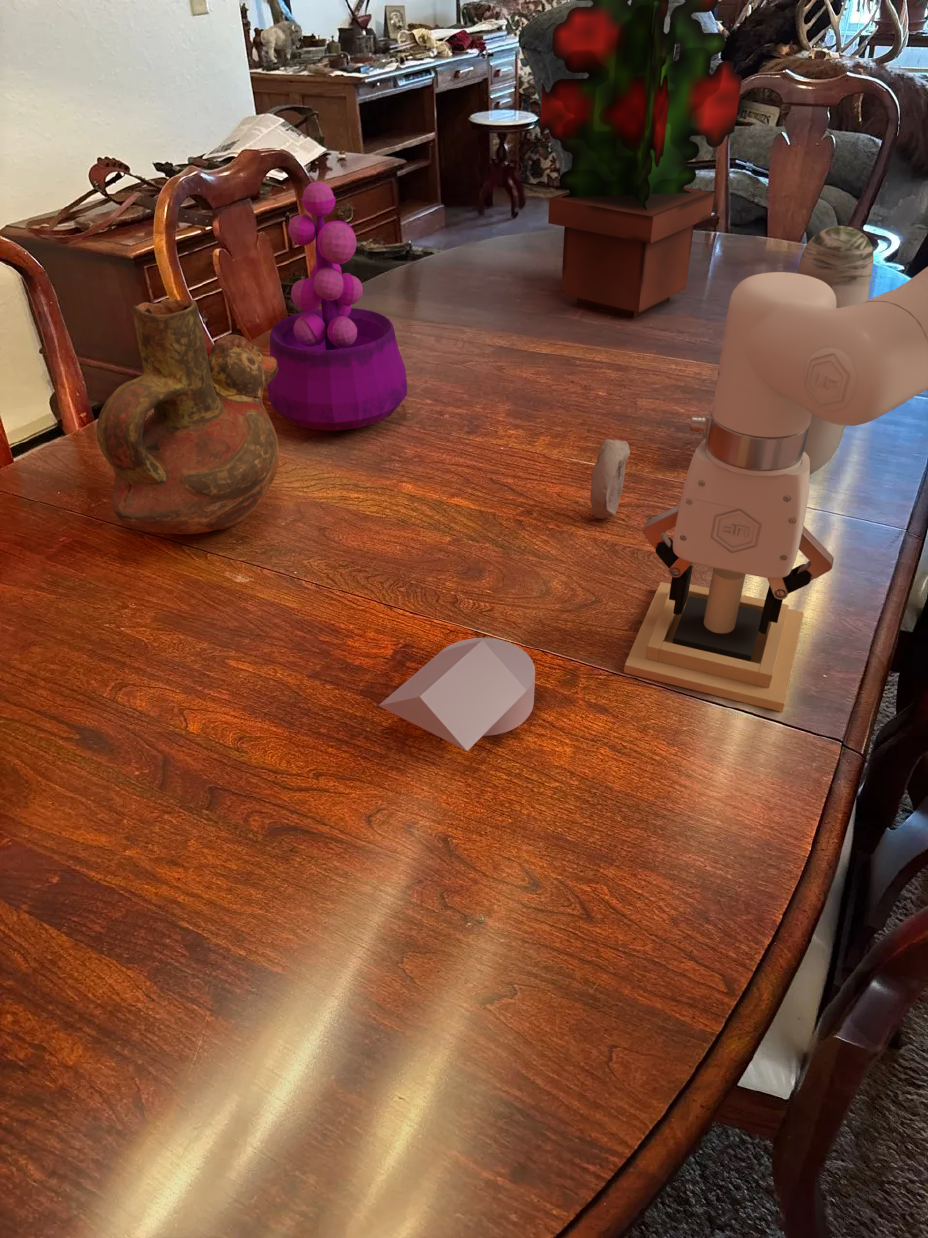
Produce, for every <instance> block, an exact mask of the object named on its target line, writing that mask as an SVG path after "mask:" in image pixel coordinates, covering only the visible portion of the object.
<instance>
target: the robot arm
mask: <svg viewBox="0 0 928 1238" xmlns="http://www.w3.org/2000/svg"><path fill="white" fill-rule="evenodd" d="M717 369H718V370H717V375H716V381H715V387H714V388H715V389H714V394H713V401H712V407H711V410H709V411H708V414H706V413H703V414H702V415H700V414H693V415H692V418H691V421H690V428H689V429H690V431H691V432H696V433H698V434H699V435H703V440H702V441H701V442H700V443H699V444H698V446H697V447H696V449H695V451H694V453H693V454H692V458H691V460H690V464H689V466H688V469H687V473H686V477H685V480H684V485H683V488H682V491H681V492H682V493H681V497H680V501H679V504H678V505H676V506H674V507H672V508H670V509H667V510H666V511H664V512H662V513H660V514H658V515H656V516H654V517H652V518H650V519H648V520H646V522H645V524H644V526H643V528H642V534H643V535H644V537H645V538H646V540H647V541H648V542H649V544H650V545H651V546H652V547H653V548H654V549H655V551H654V552H655V554H656V555H657V557H659V559H660V560H661V561H662V562H663V563H664V565H665V566H666V567H667V568H668V574H669V576H670V577H671V580H670V584H671V587H670V594H669V600H673V601H675V605H674V611H673V614H676V615H679V614H682V611H683V609H684V606H685V603H686V601H687V598H688V593H689V587H690V584H691V581H692V580H691V579H692V574H693V568H694V566H693V565H692V564H696V565H700V566H704V567H709V568H719V569H724V570H729V571H734V572H738V573H743V574H746V575H749V576H755V577H759V578H764V579H767V582H768V589H767V592H766V596H765V599H764V600H765V604H764V608H763V612H762V617H761V621H760V625H759V630H758V631H759V632H760V633H761V634H766V632H767V628H768V624H769V622H774V623H777V622H778V618H779V614H780V610H781V605H782V604H783V601H784V600H785V599H787V597H788V595H789V594H791V593H793V592H796V591H798V590H800V589H802V588H804V587H806V586H808V585H809V584H810V583H811V581H814V580H816V579H818V578H819V577H822V576H823V575H825V574H827V573H828V572H830V571H831V570H832V569H833V565H834V558H835V557H834V556H833V555H832V553H830V552H829V550H828V549H827V548H825V546H824V545H823V544H822V543H821V542H820V541H819V540H818V539H817V538H816V537H815V536H814V534H812V532H811V531H810V530H809V529H807V527H806V526H805V520H806V515H807V509H808V501H809V495H810V494H809V493H810V483H811V482H810V481H811V479H810V478H811V474H810V460H809V457H808V455H807V454H806V453H805V452H804V448H805V444H806V439H807V435H808V431H809V426H810V422H811V418H812V414H813V415H815V416H816V417H818V418H820V419H822V420H824V421H827V422H830V423H832V424H837V425H842V426H845V427H853V426H854V427H855V426H859V425H863V424H867V423H870V422H872V421H874V420H876V419H879V418H881V417H882V416H884V415H886V414H887V413H889V412H891V411H892V410H894V409H896V408H899V406H902V405H904V404H906V402H908V401H910V400H911V399H913V398H915V397H916V396H919V395H920V394H922V393H924V392H926V391H927V390H928V266H926V267H925V268H923V269H922V270H921V271H920V272H918V273H917V274H916V275H914V276H913V277H911V278H910V279H909V280H908V281H905V283H903V284H901V285H900V286H897V288H894V289H891V290H890V291H886V292H884V293H880V294H878V295H877V296H873V297H872V298H868V300H867V301H865V302H862V303H860V304H857V305H852V306H847V307H841V308H836V296H835V294H834V292H833V290H832V288H831V287H829V286H828V285H827V284H826V283H825V282H823V281H821V280H819V279H816V278H813V277H810V276H807V275H803V274H797V273H796V272H788V271H772V272H771V271H770V272H762V273H757V274H753V275H750V276H748V277H746V278H744V279H743V280H741V281H740V282H739V283H738V284H737V285H736V286H735V287H734V289H733V291H732V293H731V295H730V298H729V302H728V307H727V313H726V319H725V325H724V331H723V339H722V344H721V350H720V357H719V363H718V368H717ZM673 528H674V533H673V537H672V538H673V539H672V538H671V537H669V536H668V535H667V531H668V530H671V529H673ZM799 551H800V553H801V554H802V555H803V556H804V557H806V559H808V561H807V562H806V563H802V564H799V565H797V566H796V567H794V565H795V562H796V560H797V556H798V554H799Z"/></svg>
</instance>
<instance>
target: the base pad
mask: <svg viewBox="0 0 928 1238" xmlns="http://www.w3.org/2000/svg"><path fill="white" fill-rule="evenodd" d="M670 587H671V583H669V582H665V581H660V582H659V583H658V586H657V589H656V591H655V593H654V596H653V597H652V600H651V603H650V605H649V607H648V608H647V609H648V610H647V612H646V613H645V617H644V619H643V620H642V623H641V626H640V628H639V630H638V633H637V635H636V638H635V640H634V642H633V644H632V647H631V649H630V650H629V653H628V656H627V658H626V660H625V663H624V667H623V673H624V674H627V675H630V676H631V675H632V676H635V677H640V678H644V679H648V680H652V681H655V682H660V683H664V684H668V685H672V686H676V687H681V688H684V689H687V690H692V691H696V692H699V693H704V694H708V695H712V696H717V697H720V698H724V699H729V700H733V701H737V702H740V703H744V704H748V705H752V706H757V707H760V708H765V709H769V710H773V711H777V712H780V713H782V712H783V711H784V709H785V705H786V701H787V694H788V690H789V686H790V681H791V677H792V671H793V667H794V663H795V658H796V652H797V647H798V642H799V637H800V633H801V628H802V623H803V618H804V614H805V613H804V611H800V610H795V609H791V608H789V607H790V604H787V603H782V605H781V610H780V614H779V618H778V622H777V623H774V622H769V624H768V628H767V632H766V634H761V633H760V632H758V636H757V640H756V644H755V647H754V651H753V655H752V659H751V662H749V661H745V660H741V659H736V658H732V657H728V656H723V655H719V654H715V653H711V652H706V651H702V650H698V649H694V648H689V647H685V646H681V645H677V644H672V642H673V637H674V634H675V631H676V629H677V626H678V624H679V621H680V618H681V616H682V614H679V615H676V614H673V611H674V605H675V601H673V600H669V594H670ZM709 590H710V587H706V586H701V585H697V584H692V583H690V587H689V593H688V597H689V596H693V597H698V598H702V599H707V600H708V595H709ZM687 600H688V598H687ZM686 603H687V601H686ZM686 603H685V605H686ZM764 604H765V599H762V598H757V597H753V596H748V595H744V594H741V599H740V604H739V607H744V608H748V609H753V610H758V611H762V612H763V608H764ZM684 608H685V606H684ZM683 610H684V609H683ZM682 613H683V611H682Z"/></svg>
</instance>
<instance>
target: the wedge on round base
mask: <svg viewBox="0 0 928 1238" xmlns="http://www.w3.org/2000/svg"><path fill="white" fill-rule="evenodd" d="M535 687H536V667H535V664H534V662H533V660H532V658H531V657H530V655H529V654H528V653H527V652H526V651H525V650H524V649H522V647H519V646H518V645H516V644H514V643H511V642H509V641H507V640H504V639H498V638H494V637H493V638H491V637H473V638H466V639H462V640H460V641H456V642H454V643H452V644H449V645H448V646H446V647H444V648H443V649H441V651H439V652H438V653H437V654H436V655H435V656H434V657H432V658H431V659H430V660H429V661H428V662H427V663H425V665H423V666H422V667H421V668H420V669H419V670H417V671H416V672H415V673H414V674H413V675H411V676H410V678H408V679H407V680H406V681H405V682H404V683H403V684H401V686H399V687H398V688H397V689H395V691H394V692H392V693H391V694H390V695H389V696H388V697H387V698H386V699H384V700H383V701H382V702H381V703H380V704H378V707H380V708H382V709H384V710H386V711H387V712H390V713H392V714H394V715H396V716H398V717H400V718H402V719H403V720H405V721H408V722H409V723H411V724H412V725H414V726H417V727H419V728H421V729H423V730H425V731H427V732H429V733H431V734H432V735H434V736H437V737H439V738H441V739H443V740H444V741H446V742H449V743H450V744H452V745H454V746H456V747H458V748H460V749H462V750H463V751H466V752H468V751H469V750H470V749H471V748H473V746H474V745H475V744H476V743H477V742H478V741H479V740H480V739H481V738H482V737H488V736H490V737H491V736H495V735H501V734H504V733H508V732H509V731H512V730H514V729H516V728H518V727H519V726H520V725H522V724H523V723H524V722H525V721H527V719H528V718H529V717H530V715H531V714H532V711H533V708H534V705H535V689H536V688H535Z"/></svg>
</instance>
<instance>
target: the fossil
mask: <svg viewBox="0 0 928 1238" xmlns="http://www.w3.org/2000/svg"><path fill="white" fill-rule="evenodd" d="M630 455H631V451H630V445H629V442H627V441H626V440H620V439H610V438H609V439H608V438H605V439H603V441H602V443H601V444H600V446H599V447H598V451H597V456H596V461H595V463H594V465H593V469H592V473H591V485H590V486H591V488H590V495H589V498H590V500H589V501H590V505H591V510H592V511H591V512H592V514H593V517H595V518H596V519H599V520H604V519H607V518H610V517H614V516H616V513H617V511H618V507H619V505H620V500H621V496H622V493H623V488H624V481H625V476H626V475H625V473H626V472H625V471H626V463H627V461H628V458H629V457H630Z"/></svg>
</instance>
